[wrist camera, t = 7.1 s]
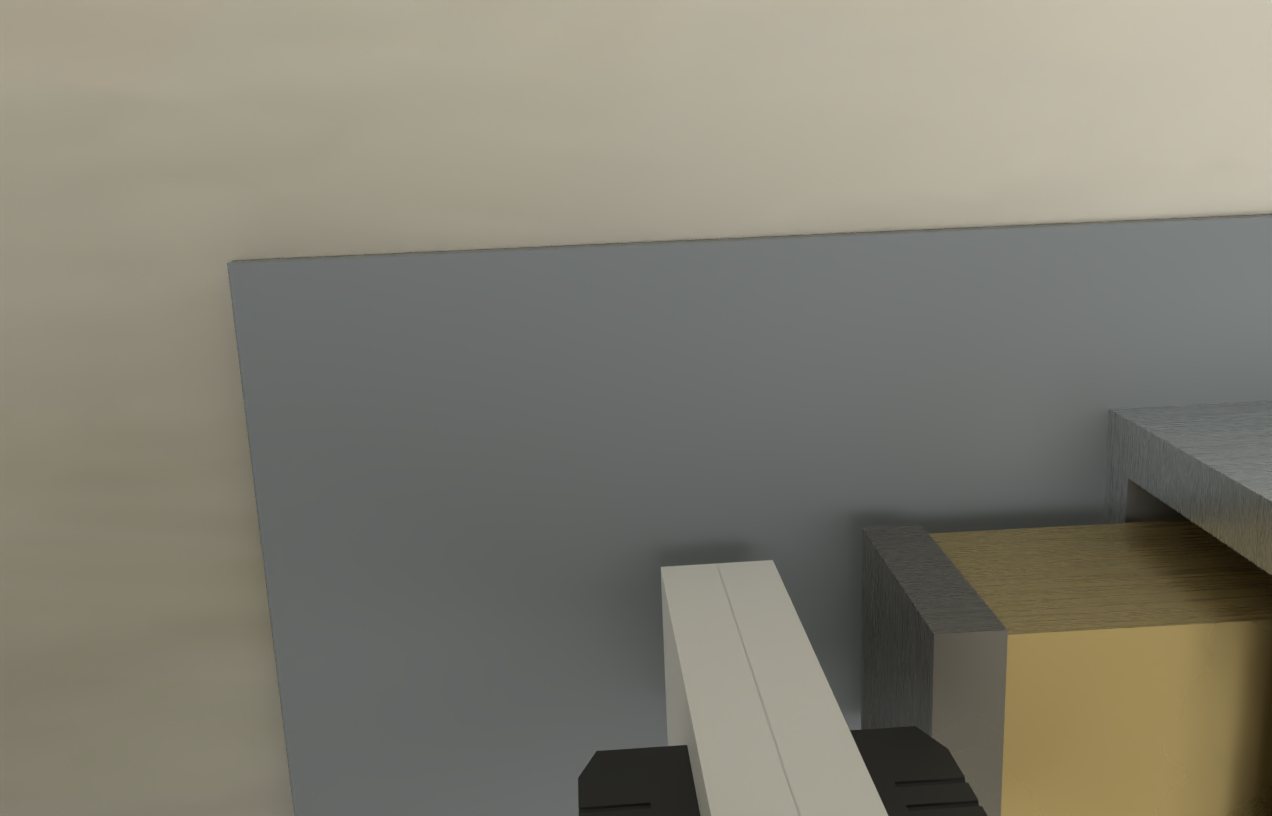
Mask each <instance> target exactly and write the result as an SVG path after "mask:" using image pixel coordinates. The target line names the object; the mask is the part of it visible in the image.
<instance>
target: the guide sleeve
mask: <svg viewBox="0 0 1272 816" xmlns="http://www.w3.org/2000/svg"><path fill="white" fill-rule="evenodd" d="M1172 520H1191V521H1192V522H1194V523H1195V524H1197V525H1198V526H1199V527H1201V528H1202V529H1204V530H1205V531H1207V532H1208V533H1210V534H1211V535H1213V536H1214V537H1216V538H1217V539H1219V540H1220V541H1222V542H1223V543H1225V544H1226V545H1228V546H1229V547H1230V548H1232V549H1233V550H1235V551H1236V552H1238V553H1239V554H1241V555H1242V556H1244V557H1245V558H1247V559H1248V560H1250V561H1251V562H1253V563H1254V564H1256V565H1257V566H1259V567H1260V568H1261V569H1263V570H1264V571H1266V572H1267V573H1269V574H1270V575H1272V401H1259V402H1240V403H1220V404H1200V405H1180V406H1160V407H1140V408H1120V409H1109V426H1108V444H1107V461H1106V478H1105V496H1104V513H1103V524H1116V523H1135V522H1153V521H1172Z"/></svg>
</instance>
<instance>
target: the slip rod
mask: <svg viewBox="0 0 1272 816" xmlns="http://www.w3.org/2000/svg"><path fill="white" fill-rule="evenodd" d="M908 726H916V727H918V728H919V729H920V730H922V731H923V732H925V733H926V734H928V735H929V736H930V737H932V738H933V739H935V740H936V741H938V742H939V743H940V744H942V745H943V746H945V747H946V748H948V749H949V751H950V753H951V754H952V756H953V758H954V760H955V761H956V763H957V765H958V766H959V768H960V770H961V771H962V773H963V775H964V776H965V782H966V783H969V785H970V787H971V788H972V790H973V792H974V793H975V795H976V797H977V798H978V801H979V806H982V807H983V809H984V810H985V812H986V814H987V815H988V816H1272V575H1270V574H1269V573H1267V572H1266V571H1264V570H1263V569H1261V568H1260V567H1259V566H1257V565H1256V564H1254V563H1253V562H1251V561H1250V560H1248V559H1247V558H1245V557H1244V556H1242V555H1241V554H1239V553H1238V552H1236V551H1235V550H1233V549H1232V548H1230V547H1229V546H1228V545H1226V544H1225V543H1223V542H1222V541H1220V540H1219V539H1217V538H1216V537H1214V536H1213V535H1211V534H1210V533H1208V532H1207V531H1205V530H1204V529H1202V528H1201V527H1199V526H1198V525H1197V524H1195V523H1194V522H1192V521H1191V520H1172V521H1153V522H1135V523H1116V524H1097V525H1079V526H1060V527H1041V528H1023V529H1004V530H985V531H967V532H948V533H928V532H927V531H926V530H925V528H924V527H923V526H922V525H921V524H917V525H898V526H879V527H862V629H861V730H863V729H878V728H893V727H908Z"/></svg>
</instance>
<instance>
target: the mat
mask: <svg viewBox="0 0 1272 816" xmlns="http://www.w3.org/2000/svg"><path fill="white" fill-rule="evenodd" d="M227 265H228V273H229V281H230V290H231V298H232V306H233V314H234V323H235V331H236V339H237V347H238V355H239V364H240V372H241V380H242V388H243V396H244V405H245V413H246V421H247V429H248V438H249V446H250V454H251V462H252V470H253V479H254V487H255V495H256V503H257V511H258V520H259V528H260V536H261V544H262V553H263V561H264V569H265V577H266V585H267V594H268V602H269V610H270V618H271V626H272V635H273V643H274V651H275V659H276V668H277V676H278V684H279V692H280V700H281V709H282V717H283V725H284V733H285V741H286V750H287V758H288V766H289V774H290V783H291V791H292V799H293V807H294V815H295V816H579V807H578V777H579V776H580V774H581V773H582V771H583V770H584V768H585V767H586V766H587V764H588V763H589V761H590V760H591V758H592V757H593V755H594V754H595V752H596V751H603V750H618V749H633V748H648V747H662V746H668V738H667V713H666V688H665V664H664V639H663V614H662V590H661V567H667V566H683V565H699V564H716V563H732V562H748V561H765V560H773V562H774V564H775V566H776V568H777V570H778V573H779V575H780V577H781V579H782V581H783V584H784V586H785V588H786V590H787V593H788V595H789V597H790V599H791V601H792V604H793V606H794V608H795V610H796V612H797V615H798V617H799V619H800V621H801V624H802V626H803V628H804V630H805V632H806V635H807V637H808V639H809V641H810V643H811V646H812V648H813V650H814V652H815V655H816V657H817V659H818V661H819V663H820V666H821V668H822V670H823V672H824V674H825V677H826V679H827V681H828V683H829V686H830V688H831V690H832V692H833V694H834V697H835V699H836V701H837V703H838V705H839V708H840V710H841V712H842V714H843V717H844V719H845V721H846V723H847V725H848V728H849V730H861V629H862V527H879V526H898V525H917V524H921V525H922V526H923V527H924V528H925V530H926V531H927V532H928V533H948V532H967V531H985V530H1004V529H1023V528H1041V527H1060V526H1079V525H1097V524H1103V513H1104V496H1105V478H1106V461H1107V444H1108V426H1109V409H1120V408H1140V407H1160V406H1180V405H1200V404H1220V403H1240V402H1259V401H1272V214H1265V215H1243V216H1221V217H1198V218H1176V219H1154V220H1131V221H1109V222H1086V223H1064V224H1042V225H1019V226H997V227H975V228H952V229H930V230H907V231H885V232H863V233H840V234H818V235H796V236H773V237H751V238H728V239H706V240H684V241H661V242H639V243H617V244H594V245H572V246H549V247H527V248H505V249H482V250H460V251H438V252H415V253H393V254H370V255H348V256H326V257H303V258H281V259H259V260H236V261H232V262H229V263H227Z"/></svg>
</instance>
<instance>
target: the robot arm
mask: <svg viewBox="0 0 1272 816" xmlns="http://www.w3.org/2000/svg"><path fill="white" fill-rule="evenodd" d="M661 590H662V614H663V639H664V664H665V688H666V713H667V738H668V746H662V747H648V748H633V749H618V750H603V751H596V752H595V754H594V755H593V757H592V758H591V760H590V761H589V763H588V764H587V766H586V767H585V768H584V770H583V771H582V773H581V774H580V776H579V777H578V807H579V816H988V815H987V814H986V812H985V810H984V809H983V807H982V806H979V801H978V798H977V797H976V795H975V793H974V792H973V790H972V788H971V787H970V785H969V783H966V782H965V776H964V775H963V773H962V771H961V770H960V768H959V766H958V765H957V763H956V761H955V760H954V758H953V756H952V754H951V753H950V751H949V749H948V748H946V747H945V746H943V745H942V744H940V743H939V742H938V741H936V740H935V739H933V738H932V737H930V736H929V735H928V734H926V733H925V732H923V731H922V730H920V729H919V728H918V727H916V726H908V727H893V728H878V729H863V730H849V728H848V725H847V723H846V721H845V719H844V717H843V714H842V712H841V710H840V708H839V705H838V703H837V701H836V699H835V697H834V694H833V692H832V690H831V688H830V686H829V683H828V681H827V679H826V677H825V674H824V672H823V670H822V668H821V666H820V663H819V661H818V659H817V657H816V655H815V652H814V650H813V648H812V646H811V643H810V641H809V639H808V637H807V635H806V632H805V630H804V628H803V626H802V624H801V621H800V619H799V617H798V615H797V612H796V610H795V608H794V606H793V604H792V601H791V599H790V597H789V595H788V593H787V590H786V588H785V586H784V584H783V581H782V579H781V577H780V575H779V573H778V570H777V568H776V566H775V564H774V562H773V560H765V561H748V562H732V563H716V564H699V565H683V566H667V567H661Z"/></svg>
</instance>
